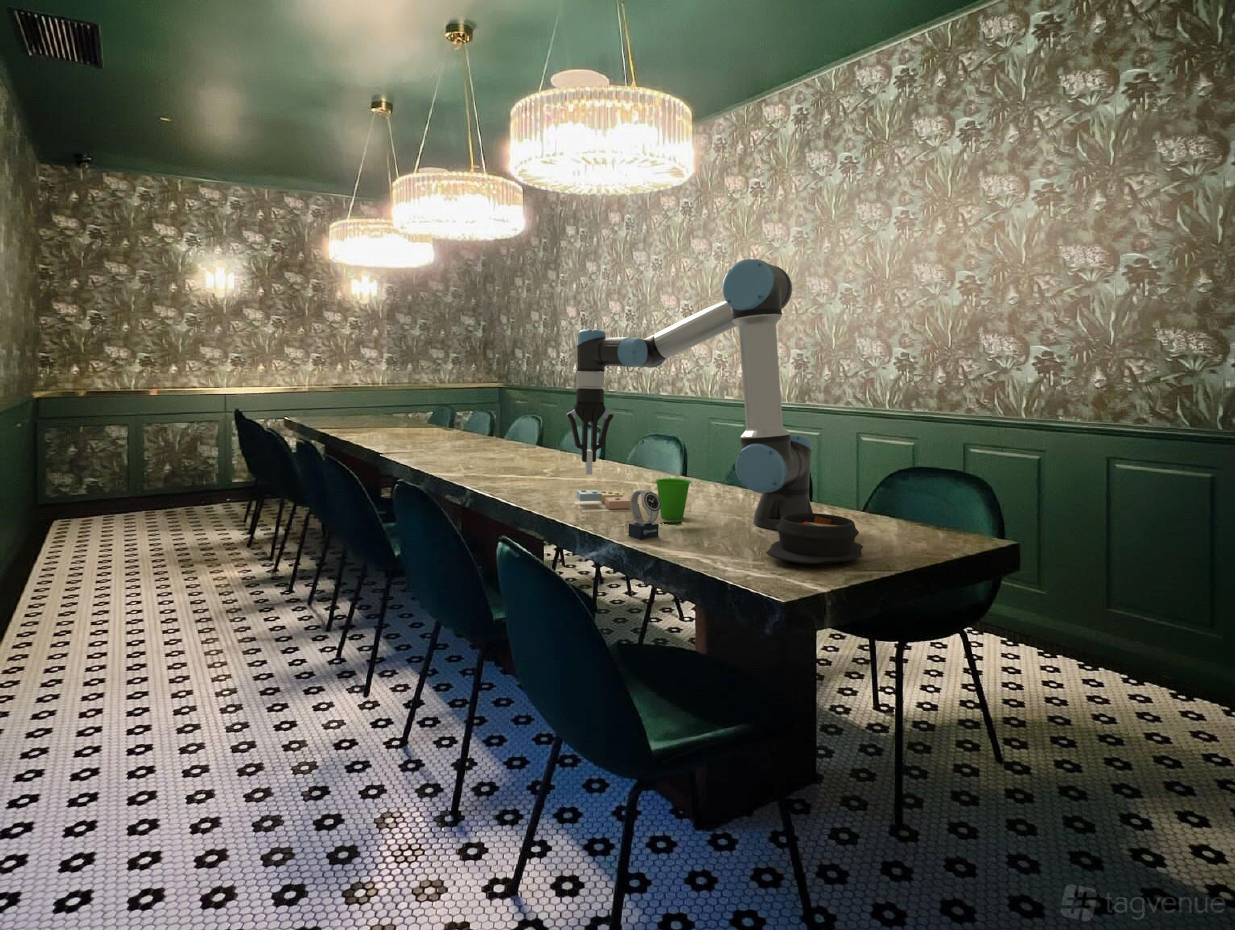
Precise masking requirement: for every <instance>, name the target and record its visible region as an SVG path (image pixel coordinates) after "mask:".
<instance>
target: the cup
mask: <svg viewBox="0 0 1235 930" xmlns="http://www.w3.org/2000/svg"><path fill="white" fill-rule="evenodd" d="M654 481H655V483H656V486H657V496H658V497H659V499H660V500H661V508H660V510H659V513H660V516H661V517H660V518H662V520H663V519H664V520H673V521H662V524H663V523H664V524H663V525H666V524H667V526H680V525H682V523H683V521H682V520H683V519H684V515H685V509H686V504H687V498H688V493H689V489H690V484H691V483H692V482H691V480H690V479H686V478H685V479H684V478H676V477H675V478H674V477H672V478H671V477H669V478H668V477H666V478H664V477H663V478H656V479H655V480H654ZM679 520H681V521H679Z"/></svg>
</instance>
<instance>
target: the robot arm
mask: <svg viewBox="0 0 1235 930" xmlns="http://www.w3.org/2000/svg"><path fill="white" fill-rule="evenodd" d="M722 281H723V282H722V288H721V289H722V294H723V298H724V299H723V300H721V301H718V302H716V303H714V304H712V305H709V306H708V307H707V308H704V309H702V310H700V311H697V312H696V313H694V314H692V315H690V316H688V317H686V318H684V319H682V320H680V321H678V322H676V323H674V324H672V325H670V326H668V327H666V328H664V329H662V330H660V331H658V332H656V333H655V334H652V335H650V336H648V337H646V338H640V337H634V336H633V337H632V336H627V337H607V335H606V331H605V330H603V329H602V330H601V329H580V331H578V333H577V344H576V353H577V354H576V357H577V358H576V359H577V360H576V361H577V365H576V386H577V387H578V388H577V389H576V392H575V393H576V398H575V400H576V402H575V406H573V407H574V408H573V410H572V411H569V412H567V413H566V414H565V415H566V418H567V419H568V420H569V425H570V427H571V429H570V430H571V432H572V437H573V442H574V446H575V448H577V449H580V450H581V461H582V463H584V468H585V469H584V474H585V475H587V476H588V475H591V476H592V475H593V463H596V462H597V451H598V450H600V449H602V448H604V445H605V441H606V437H607V433H608V430H609V425H610V422H611V421H612V419H613V418H614V414H613V413H610V412H609V411H607V410H606V409H607V407H606V406H605V390H604V387H605V371H606V367H609V366H610V367H623V368H624V367H625V368H626V367H627V368H639V367H640V368H650V369H651V368H655V367H660V366H662V365H663V364H664V363H665V361H666V360H668V359H669V358H671V357H674V356H676V355H678V354H680V353H682V352H684V351H686V350H688V349H690V348H693V347H695V346H697V345H699V344H701V343H704V342H705V341H708V340H710V339H713V338H714V337H716V336H718V335H720V334H723V333H725V332H726V331H729V330H732V329H734V328H735V327H736V328H737V329H738V331H739V346H740V356H741V357H740V358H741V361H740V363H741V373H742V389H743V391H742V392H743V403H744V416H745V417H744V418H745V430H744V432H742V434H741V435H740V451H739V453H738V455H737V457H736V459H735V465H734V466H735V467H734V468H735V472H736V476H737V478H738V480H739V482H740V483H741V484H742V485H743V486H744V487H745V488H746V489H748V490H750V491H752V492H754V493H760V495H761V496H760V498H759V501H758V504H757V506H756V509H755V511H754V514H753V524H754V525H756V526H757V527H760V528H764V529H771V530H777V529H776V525H778V524H779V522H780V519H781V517H782V516H785V515H789V514H796V513H814V511H813V506H812V503H811V501H810V494H809V493H810V477H811V476H810V474H811V459H812V458H811V457H812V451H813V450H812V443H811V441H812V440H810V438H809V437H807V436H803V435H802V436H801V435H793V434H791V433H790V432H789V431H788V429H786V428H785V427H784V422H783V408H782V407H783V406H782V395H781V394H782V393H781V383H780V382H781V380H780V365H779V351H778V350H779V348H778V337H777V336H778V335H777V334H778V333H777V323H778V322H779V321H780V320H781V319H782V317H783V313H782V312H783V311H782V310H783V309H784V308H785V307H786V306H787V304H789V301H790V300H791V298H792V293H793V285H792V284H793V283H792V281H791V278H790V276H789V275H788V273H787V272H786V271H785V270H784V269H783V268H781V267H780V266H777V265H773V264H770V263H767V261H764V260H762V259H752V258H747V259H746V258H745V259H743V260H741V261H740V260H739V261H738V262H736V263H735V264H733V265H732V266H731V267H730V268H729V269H728V270H727V272H726V274H725V276H724V279H723V280H722ZM576 415H577V416H578V418H579V419H580V421H581V440H580V436H579V431H578V426H577V422H576V420H575V419H576V418H577V416H576ZM602 417H603V421H602V426H601V429H600V432H599V436H598V423H599V422H598V421H600V419H601V418H602ZM589 422H590V449H588V441H589V437H588V435H589V431H588V430H589ZM777 531H778V530H777Z"/></svg>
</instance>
